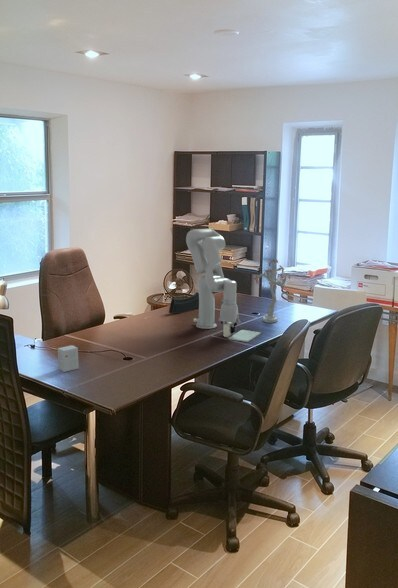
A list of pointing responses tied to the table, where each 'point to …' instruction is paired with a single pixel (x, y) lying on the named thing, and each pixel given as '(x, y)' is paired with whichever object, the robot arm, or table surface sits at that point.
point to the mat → (244, 335)
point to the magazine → (184, 304)
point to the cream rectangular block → (227, 329)
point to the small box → (68, 358)
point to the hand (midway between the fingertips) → (229, 332)
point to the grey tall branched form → (273, 282)
